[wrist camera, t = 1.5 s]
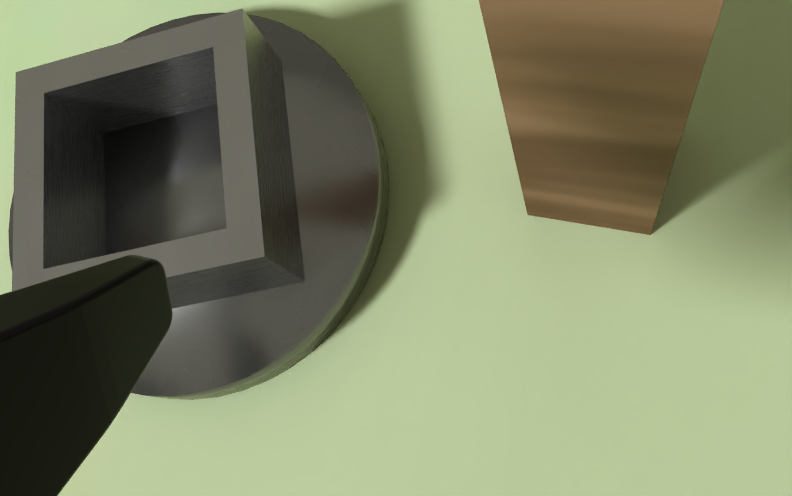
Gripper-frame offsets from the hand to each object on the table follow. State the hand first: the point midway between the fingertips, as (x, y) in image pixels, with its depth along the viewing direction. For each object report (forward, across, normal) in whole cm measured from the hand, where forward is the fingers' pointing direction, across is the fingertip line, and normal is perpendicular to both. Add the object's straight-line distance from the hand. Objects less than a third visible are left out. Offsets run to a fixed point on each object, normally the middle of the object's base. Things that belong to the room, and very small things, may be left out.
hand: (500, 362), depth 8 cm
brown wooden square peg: (+15, 0, +4) cm, 15 cm away
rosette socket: (+12, +13, +6) cm, 19 cm away
